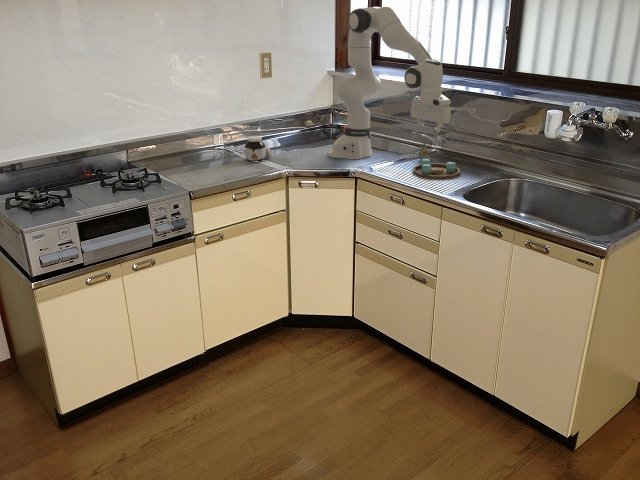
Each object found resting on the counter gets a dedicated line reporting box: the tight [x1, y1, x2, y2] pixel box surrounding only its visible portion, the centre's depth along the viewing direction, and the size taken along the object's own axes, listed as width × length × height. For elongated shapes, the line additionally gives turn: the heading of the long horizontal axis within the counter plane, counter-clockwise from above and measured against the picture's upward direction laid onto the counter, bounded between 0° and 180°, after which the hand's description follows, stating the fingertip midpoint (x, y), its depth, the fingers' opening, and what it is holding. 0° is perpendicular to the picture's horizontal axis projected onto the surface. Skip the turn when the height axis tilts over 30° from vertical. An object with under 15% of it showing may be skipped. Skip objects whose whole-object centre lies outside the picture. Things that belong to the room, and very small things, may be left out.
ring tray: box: [412, 162, 461, 180], centre depth 285 cm, size 21×21×2 cm
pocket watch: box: [418, 141, 437, 163], centre depth 302 cm, size 8×8×10 cm
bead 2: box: [422, 164, 431, 175], centre depth 281 cm, size 4×4×4 cm
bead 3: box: [446, 161, 457, 174], centre depth 284 cm, size 4×4×4 cm
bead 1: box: [420, 158, 431, 170], centre depth 289 cm, size 4×4×4 cm
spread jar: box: [244, 135, 273, 162], centre depth 309 cm, size 12×11×12 cm
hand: (428, 130), depth 274 cm, fingers open, 8 cm apart
